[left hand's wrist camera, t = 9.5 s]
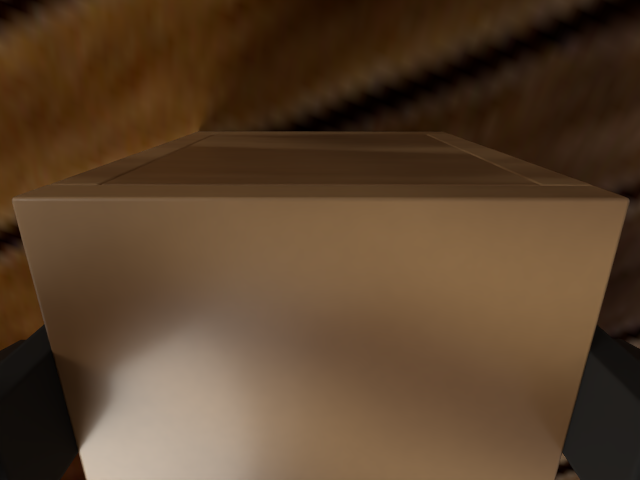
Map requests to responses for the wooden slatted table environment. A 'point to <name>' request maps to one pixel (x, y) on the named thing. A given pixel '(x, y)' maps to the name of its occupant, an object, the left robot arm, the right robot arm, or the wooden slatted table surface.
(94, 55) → the wooden slatted table surface
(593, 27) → the wooden slatted table surface
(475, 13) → the wooden slatted table surface
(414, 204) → the cabinet
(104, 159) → the wooden slatted table surface
